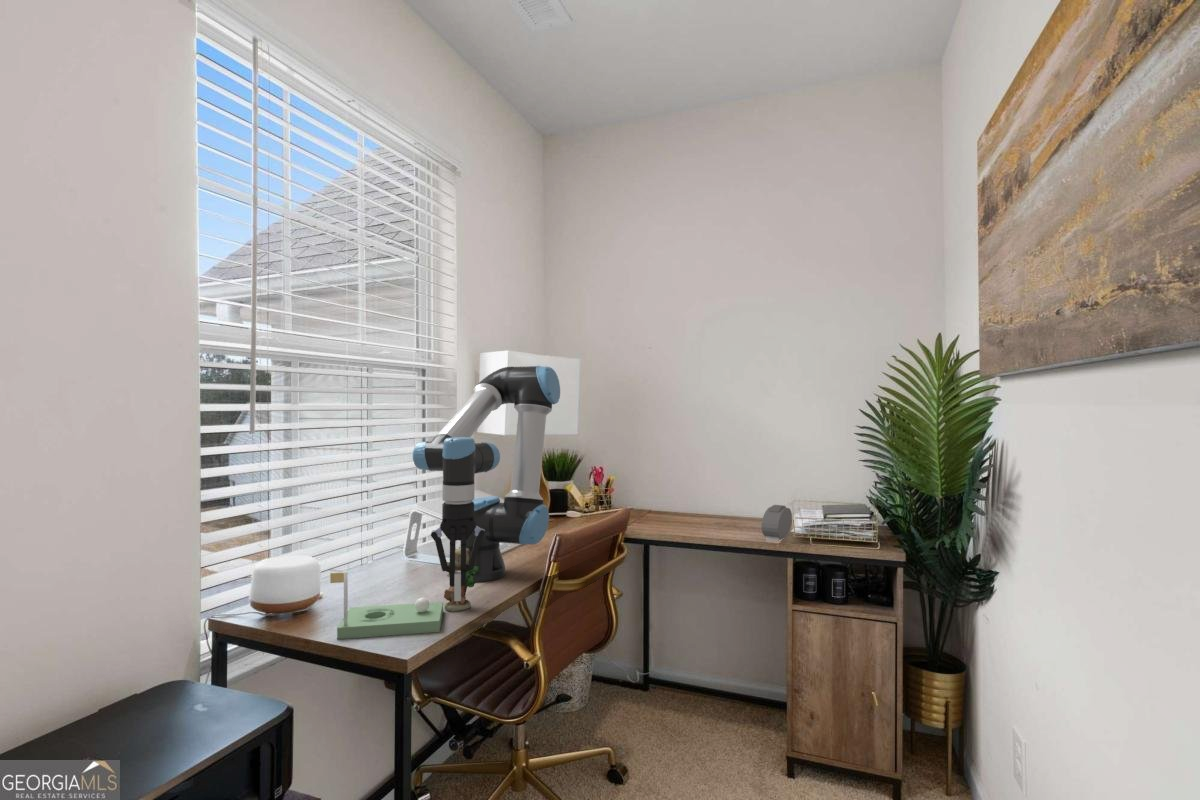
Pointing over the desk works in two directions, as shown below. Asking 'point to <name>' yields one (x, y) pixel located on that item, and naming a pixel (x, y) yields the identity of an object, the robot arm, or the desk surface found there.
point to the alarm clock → (776, 522)
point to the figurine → (470, 582)
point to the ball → (421, 605)
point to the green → (390, 620)
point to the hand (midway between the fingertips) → (457, 599)
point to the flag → (341, 578)
